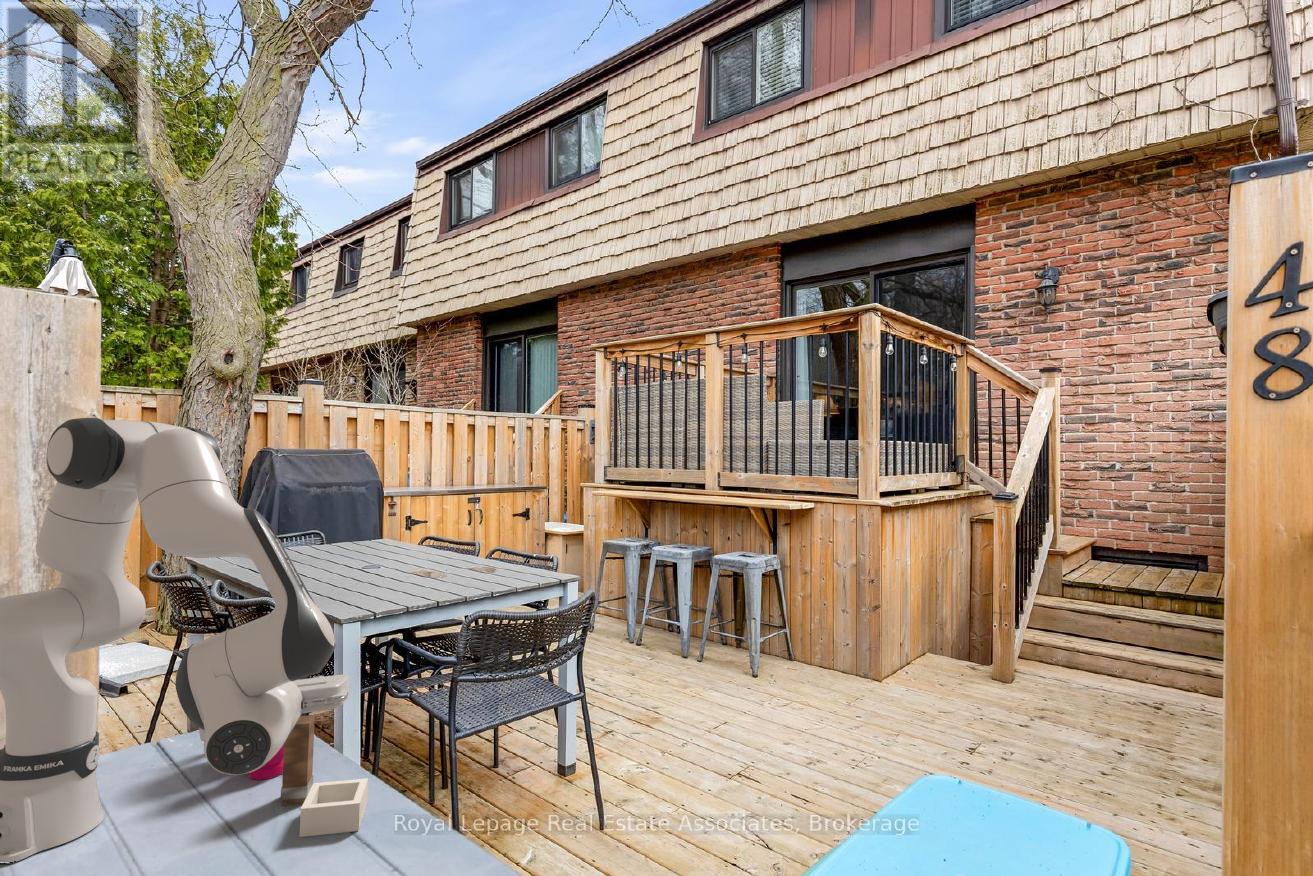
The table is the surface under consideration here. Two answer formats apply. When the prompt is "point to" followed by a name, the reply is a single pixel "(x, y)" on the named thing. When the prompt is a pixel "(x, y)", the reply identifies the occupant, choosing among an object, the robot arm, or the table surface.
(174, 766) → the table surface
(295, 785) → the rail
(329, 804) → the socket block
